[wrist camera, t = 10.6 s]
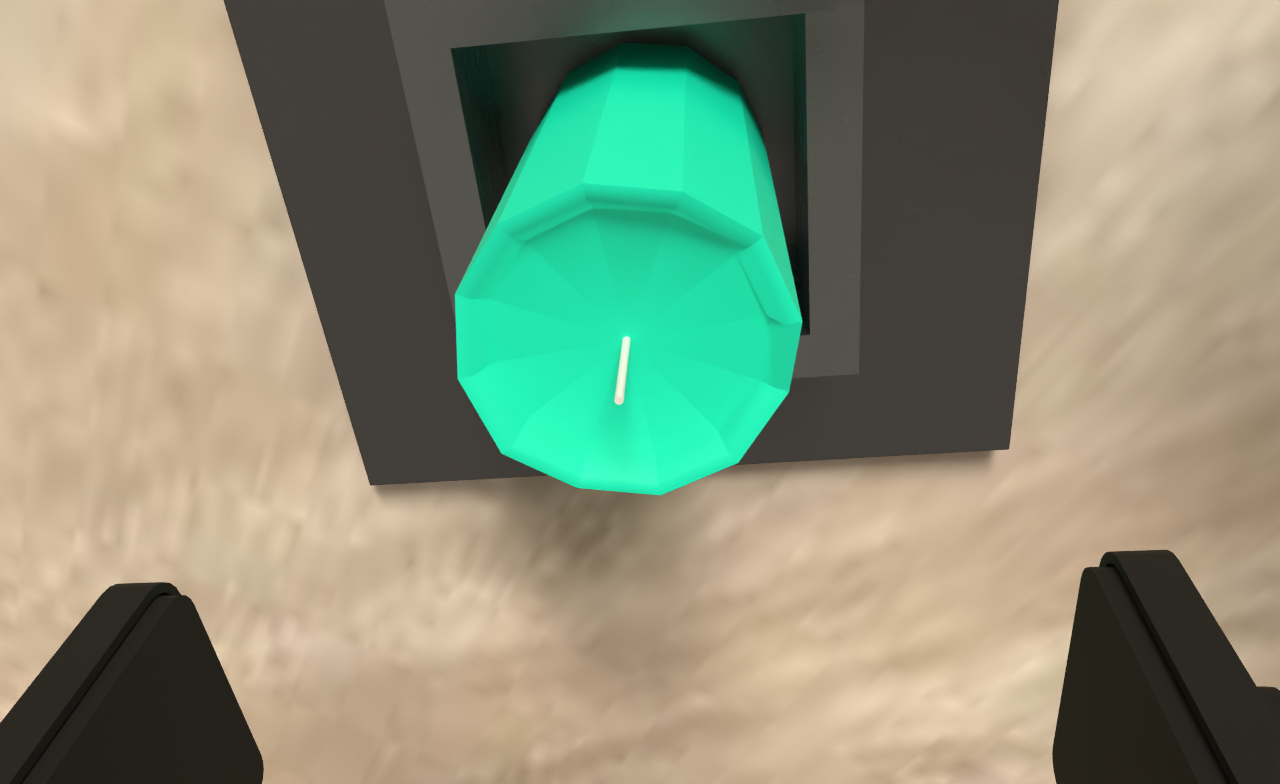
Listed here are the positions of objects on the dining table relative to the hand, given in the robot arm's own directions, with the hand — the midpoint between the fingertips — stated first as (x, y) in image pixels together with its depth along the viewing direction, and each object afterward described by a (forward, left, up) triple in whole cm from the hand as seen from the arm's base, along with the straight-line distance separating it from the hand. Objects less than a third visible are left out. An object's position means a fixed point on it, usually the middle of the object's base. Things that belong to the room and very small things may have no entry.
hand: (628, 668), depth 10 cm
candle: (0, 0, -18) cm, 18 cm away
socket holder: (0, 0, -19) cm, 19 cm away
